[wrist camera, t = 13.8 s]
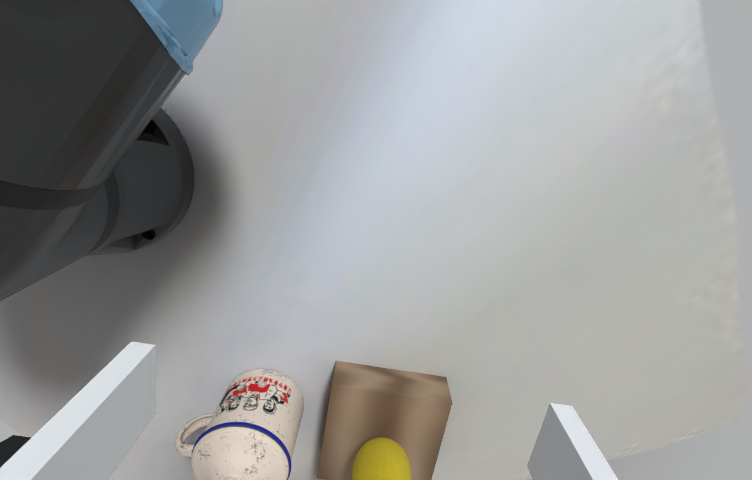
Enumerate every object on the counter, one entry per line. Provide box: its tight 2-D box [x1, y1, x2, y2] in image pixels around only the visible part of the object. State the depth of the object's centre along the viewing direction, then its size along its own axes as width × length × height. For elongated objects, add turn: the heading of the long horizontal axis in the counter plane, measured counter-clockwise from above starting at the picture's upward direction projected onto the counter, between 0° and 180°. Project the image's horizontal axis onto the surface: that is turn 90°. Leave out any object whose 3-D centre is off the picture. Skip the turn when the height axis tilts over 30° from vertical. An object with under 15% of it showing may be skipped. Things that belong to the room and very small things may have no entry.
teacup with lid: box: [174, 369, 304, 480], centre depth 41 cm, size 12×9×12 cm
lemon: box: [352, 437, 411, 480], centre depth 39 cm, size 6×6×8 cm
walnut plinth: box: [317, 361, 452, 480], centre depth 45 cm, size 12×12×4 cm
